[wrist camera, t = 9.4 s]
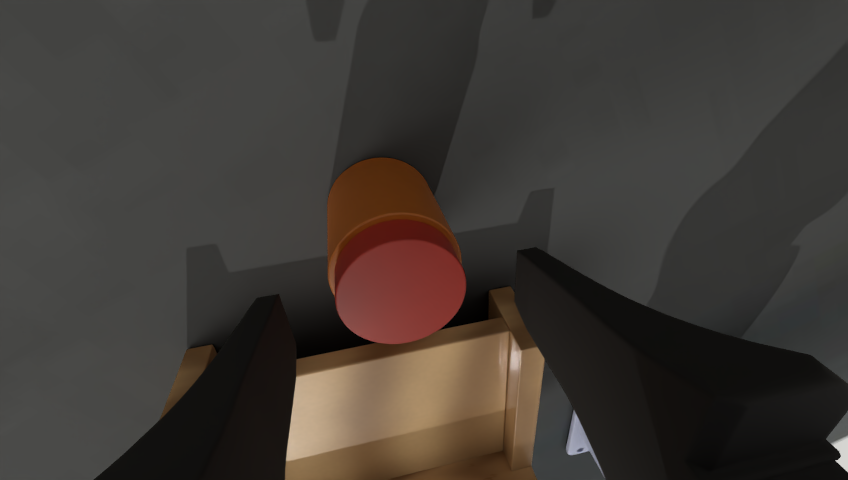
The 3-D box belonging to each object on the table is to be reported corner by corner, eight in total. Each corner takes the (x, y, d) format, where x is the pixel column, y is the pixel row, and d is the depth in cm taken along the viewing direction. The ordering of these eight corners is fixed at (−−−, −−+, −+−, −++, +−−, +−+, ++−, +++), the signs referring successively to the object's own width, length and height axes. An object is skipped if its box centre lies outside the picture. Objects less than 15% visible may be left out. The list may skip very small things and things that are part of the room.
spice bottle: (427, 149, 16) (472, 220, 11) (434, 241, 19) (473, 333, 14) (316, 165, 16) (312, 248, 11) (338, 257, 18) (342, 360, 13)
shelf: (510, 285, 21) (570, 382, 16) (504, 410, 27) (546, 511, 22) (186, 348, 19) (134, 483, 14) (254, 469, 25) (235, 596, 20)
